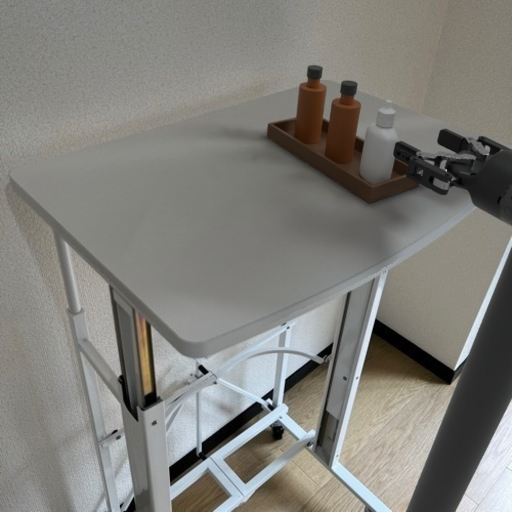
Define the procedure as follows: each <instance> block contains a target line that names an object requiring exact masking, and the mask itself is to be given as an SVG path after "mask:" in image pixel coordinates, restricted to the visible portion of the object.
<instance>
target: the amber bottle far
mask: <svg viewBox="0 0 512 512" xmlns="http://www.w3.org/2000/svg"><path fill="white" fill-rule="evenodd" d="M323 70H324V68H323V67H322V66H321V65H318V64H311V65H308V66H307V69H306V78H307V79H306V80H307V81H304V82H301V83H300V84H299V86H298V96H297V104H296V105H297V106H296V115H295V117H296V124H295V134H294V138H296V139H298V140H299V141H301V142H303V143H304V144H315V143H318V142H319V141H320V137H321V129H322V121H323V118H324V114H325V113H324V112H325V104H326V97H327V89H328V88H327V86H326V84H323V83H321V79H322V77H323Z"/></svg>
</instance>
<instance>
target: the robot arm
mask: <svg viewBox="0 0 512 512" xmlns="http://www.w3.org/2000/svg"><path fill="white" fill-rule="evenodd" d="M436 142H437V145H439V146H441V147H443V148H445V149H446V150H449V151H451V152H452V153H451V152H448V151H442V150H439V151H437V152H436V153H431V152H425V151H422V150H421V149H419V148H417V147H415V146H413V145H411V144H410V143H407V142H405V141H403V140H398V142H396V143H395V147H394V152H393V156H394V157H395V158H396V159H398V160H400V161H402V162H404V163H406V164H407V165H408V170H407V173H406V177H407V178H409V179H411V180H413V181H415V182H417V183H419V185H421V186H422V187H425V188H426V189H428V190H430V191H433V192H434V193H436V194H438V195H441V196H447V195H448V194H449V190H450V189H451V188H453V187H455V188H459V189H462V190H464V191H467V193H468V194H469V197H470V201H471V203H472V204H473V206H474V207H476V208H478V209H480V210H481V211H483V212H485V213H487V214H488V215H490V216H492V217H494V218H495V219H497V220H499V221H501V222H503V223H504V224H506V225H508V226H510V227H512V148H509V147H507V146H506V145H504V144H502V143H499V142H498V141H496V140H493V139H491V138H489V137H487V136H484V135H479V136H478V137H477V139H476V138H474V137H472V136H466V137H465V136H463V135H461V134H459V133H456V132H454V131H453V130H450V129H448V128H443V129H440V130H439V132H438V136H437V139H436ZM486 147H488V148H489V150H488V149H486ZM444 161H445V164H444V168H441V164H442V162H444ZM430 162H433V164H432V163H430ZM420 174H422V175H420Z"/></svg>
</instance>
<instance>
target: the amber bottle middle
mask: <svg viewBox="0 0 512 512" xmlns="http://www.w3.org/2000/svg"><path fill="white" fill-rule="evenodd" d="M358 86H359V85H358V82H356V81H355V80H349V79H347V80H342V81H341V83H340V89H339V93H340V97H337V98H334V99H332V100H331V106H330V112H329V113H330V114H329V119H328V121H329V127H328V134H327V141H326V148H325V156H326V157H327V158H329V159H330V160H332V161H334V162H335V163H348V162H350V161H351V160H352V156H353V150H354V144H355V138H356V136H357V134H358V133H357V132H358V126H359V121H360V114H361V108H362V103H361V102H360V101H359V100H357V99H355V96H356V95H357V91H358Z"/></svg>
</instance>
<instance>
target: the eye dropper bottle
mask: <svg viewBox="0 0 512 512" xmlns="http://www.w3.org/2000/svg"><path fill="white" fill-rule="evenodd" d="M392 107H393V105H392V100H391V99H387V100H386V101H385V103H384V106H383V107H379V108H378V109H377V114H376V120H375V122H372V123H370V124H369V125H368V126H367V127H366V131H365V136H364V140H365V141H364V146H363V152H362V157H361V163H360V168H359V172H360V175H361V176H362V178H363V179H364V180H365V181H367V182H368V183H370V184H372V185H374V184H378V183H381V182H384V181H387V180H390V178H391V173H392V169H393V164H394V159H395V157H394V156H393V152H394V147H395V143H396V142H399V136H398V133H397V130H396V129H395V128H394V127H393V126H394V123H395V117H396V113H397V112H396V110H395V109H393V108H392Z"/></svg>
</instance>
